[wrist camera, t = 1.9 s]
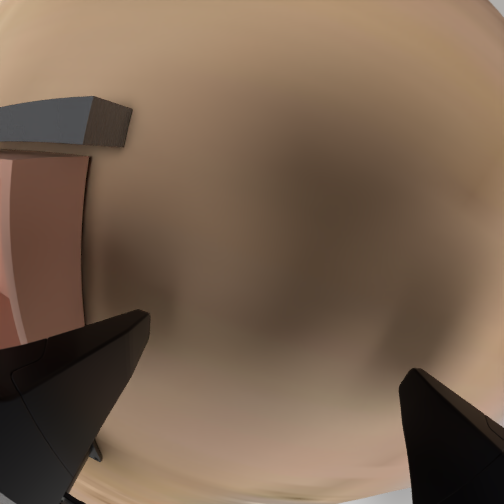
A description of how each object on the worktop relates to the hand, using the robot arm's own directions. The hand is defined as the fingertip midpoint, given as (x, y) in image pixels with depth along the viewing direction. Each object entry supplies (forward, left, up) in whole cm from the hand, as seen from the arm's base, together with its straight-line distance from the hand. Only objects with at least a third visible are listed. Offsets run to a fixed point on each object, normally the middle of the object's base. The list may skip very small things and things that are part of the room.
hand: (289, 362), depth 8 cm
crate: (0, +13, -2) cm, 13 cm away
